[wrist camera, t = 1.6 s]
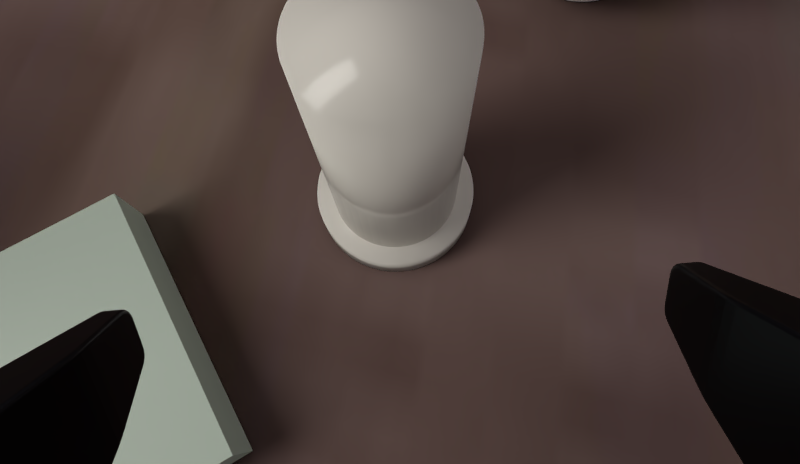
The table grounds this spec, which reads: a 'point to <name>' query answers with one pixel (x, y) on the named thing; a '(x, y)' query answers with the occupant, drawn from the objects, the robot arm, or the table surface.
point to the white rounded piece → (387, 119)
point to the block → (153, 316)
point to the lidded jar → (582, 0)
